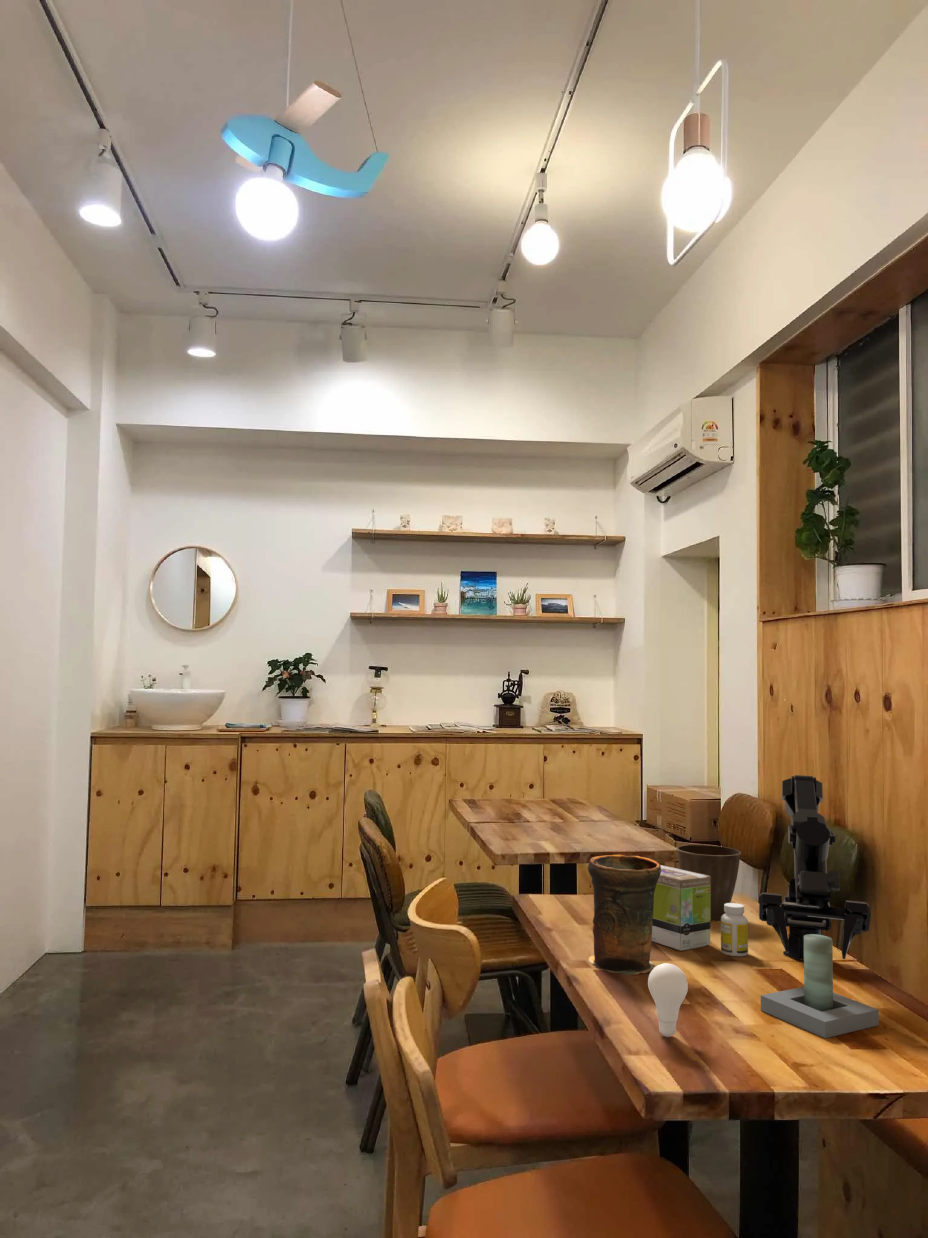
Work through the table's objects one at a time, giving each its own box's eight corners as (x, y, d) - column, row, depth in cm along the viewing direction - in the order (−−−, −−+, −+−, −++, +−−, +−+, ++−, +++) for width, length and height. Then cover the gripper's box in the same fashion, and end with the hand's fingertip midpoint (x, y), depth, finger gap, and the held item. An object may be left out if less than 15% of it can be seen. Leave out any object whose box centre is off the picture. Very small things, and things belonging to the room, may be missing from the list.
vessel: (660, 955, 177) (661, 856, 179) (660, 979, 164) (660, 871, 165) (590, 949, 181) (590, 851, 182) (583, 972, 167) (584, 866, 168)
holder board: (813, 999, 154) (813, 985, 154) (878, 1025, 143) (878, 1009, 143) (760, 1010, 148) (760, 995, 148) (824, 1038, 137) (824, 1022, 137)
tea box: (712, 945, 186) (712, 875, 187) (680, 952, 180) (680, 880, 181) (659, 928, 198) (660, 862, 199) (627, 934, 192) (628, 866, 194)
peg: (810, 1010, 149) (809, 932, 150) (837, 1017, 146) (836, 938, 147) (800, 1017, 145) (799, 938, 146) (827, 1025, 142) (826, 943, 143)
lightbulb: (642, 1029, 138) (643, 958, 139) (680, 1029, 139) (680, 958, 140) (654, 1045, 132) (655, 970, 133) (693, 1044, 133) (693, 970, 134)
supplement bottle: (748, 951, 182) (748, 903, 183) (747, 958, 177) (747, 909, 178) (721, 948, 184) (721, 901, 185) (720, 955, 179) (720, 906, 180)
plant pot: (663, 915, 210) (664, 848, 211) (698, 906, 220) (698, 842, 221) (719, 929, 199) (719, 858, 200) (752, 919, 209) (752, 851, 210)
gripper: (759, 848, 162) (759, 924, 151) (869, 857, 156) (877, 936, 145) (759, 882, 169) (759, 957, 157) (864, 892, 163) (872, 970, 152)
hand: (815, 954), depth 153 cm, fingers open, 9 cm apart
